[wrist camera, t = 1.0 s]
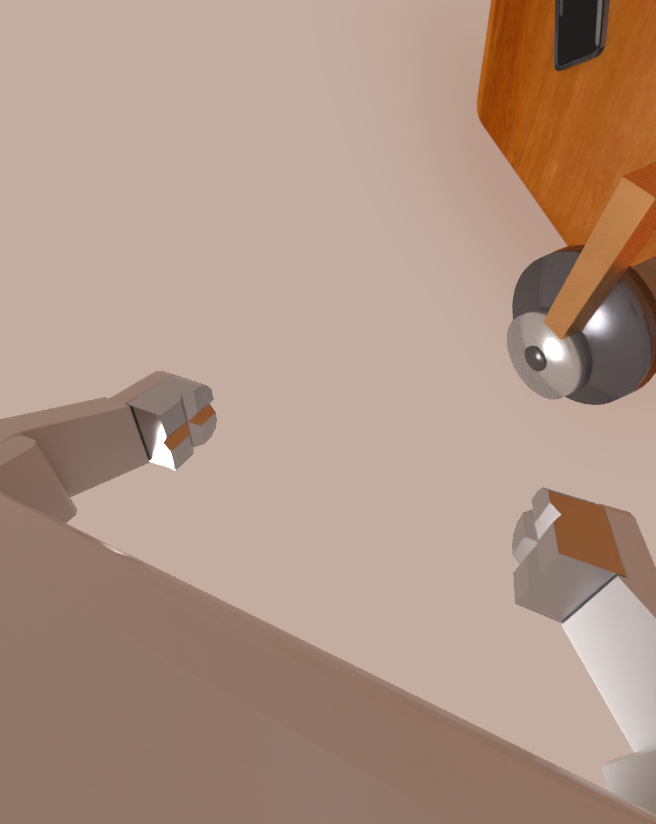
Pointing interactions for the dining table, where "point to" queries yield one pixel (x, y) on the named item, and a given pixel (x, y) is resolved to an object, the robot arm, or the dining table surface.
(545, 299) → the pedestal
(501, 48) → the dining table surface
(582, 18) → the phone
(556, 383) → the cover
